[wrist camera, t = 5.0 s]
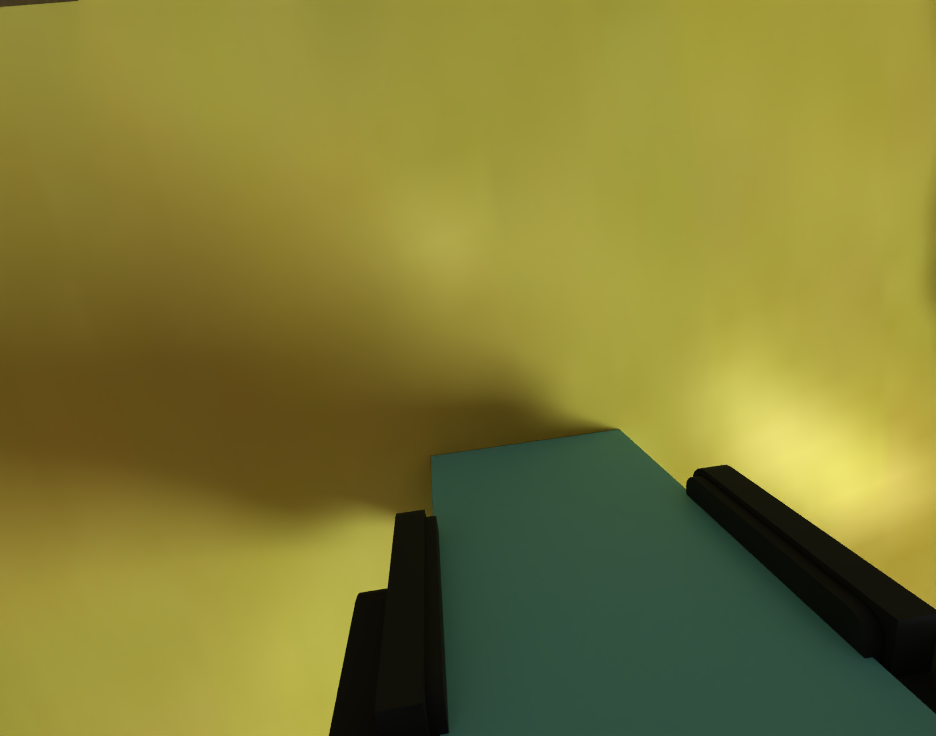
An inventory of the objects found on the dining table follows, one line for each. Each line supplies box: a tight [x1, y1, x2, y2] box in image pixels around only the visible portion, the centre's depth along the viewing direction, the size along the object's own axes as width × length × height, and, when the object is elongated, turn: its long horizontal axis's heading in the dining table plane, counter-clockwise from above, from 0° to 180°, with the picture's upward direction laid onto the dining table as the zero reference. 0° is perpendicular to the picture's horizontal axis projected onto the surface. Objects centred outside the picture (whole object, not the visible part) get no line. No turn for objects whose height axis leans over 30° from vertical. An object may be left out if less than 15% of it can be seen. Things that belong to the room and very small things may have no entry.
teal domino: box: [431, 429, 936, 736], centre depth 7 cm, size 2×5×10 cm, turn 96°
